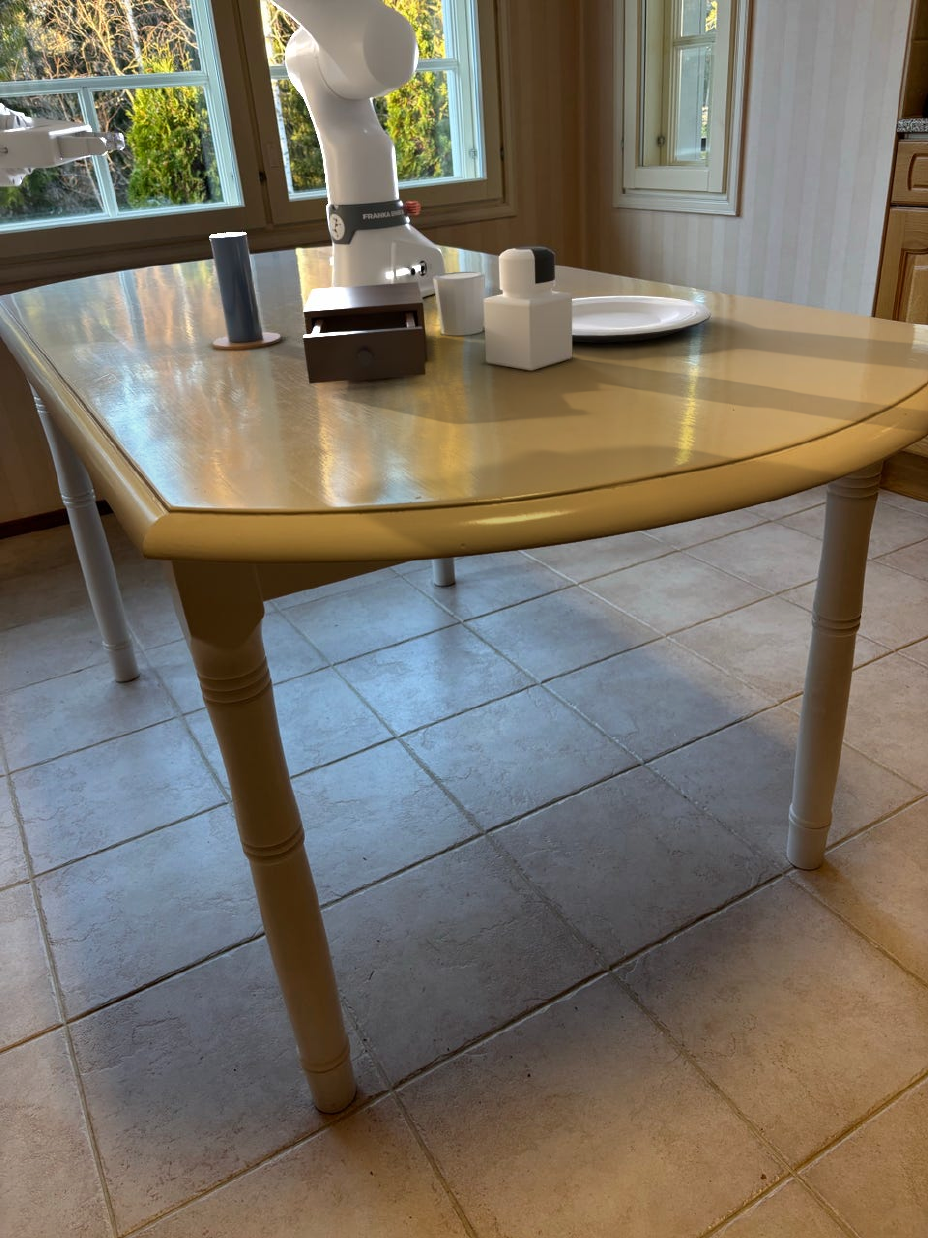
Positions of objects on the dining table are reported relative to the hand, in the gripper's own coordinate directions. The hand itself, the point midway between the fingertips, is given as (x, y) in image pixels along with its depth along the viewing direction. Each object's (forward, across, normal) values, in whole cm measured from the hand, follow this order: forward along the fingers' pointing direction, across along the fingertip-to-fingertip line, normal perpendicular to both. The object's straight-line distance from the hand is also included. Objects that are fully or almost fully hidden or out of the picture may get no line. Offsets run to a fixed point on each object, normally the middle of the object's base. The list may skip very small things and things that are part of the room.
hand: (114, 143), depth 108 cm
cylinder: (+12, -1, +23) cm, 27 cm away
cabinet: (+29, -12, +22) cm, 39 cm away
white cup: (+41, -4, +22) cm, 47 cm away
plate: (+60, -10, +22) cm, 64 cm away
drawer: (+29, -24, +21) cm, 43 cm away
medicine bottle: (+47, -24, +21) cm, 57 cm away
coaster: (+13, -1, +24) cm, 27 cm away
